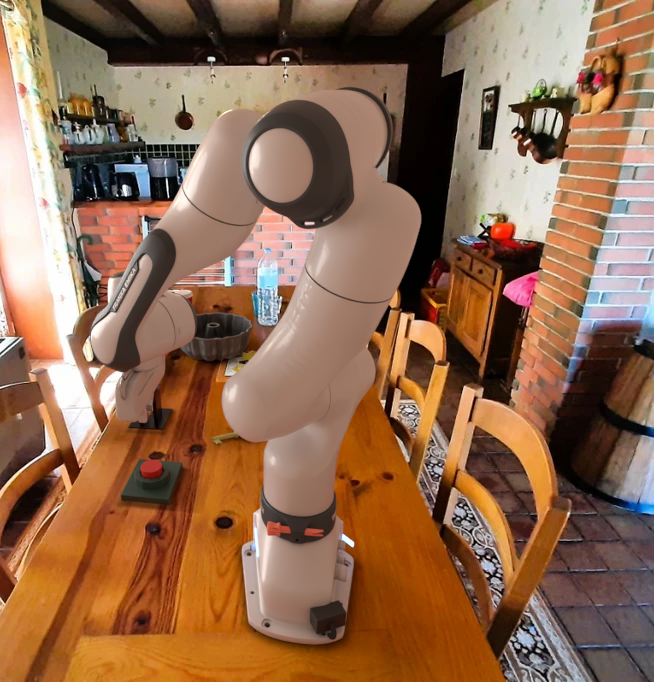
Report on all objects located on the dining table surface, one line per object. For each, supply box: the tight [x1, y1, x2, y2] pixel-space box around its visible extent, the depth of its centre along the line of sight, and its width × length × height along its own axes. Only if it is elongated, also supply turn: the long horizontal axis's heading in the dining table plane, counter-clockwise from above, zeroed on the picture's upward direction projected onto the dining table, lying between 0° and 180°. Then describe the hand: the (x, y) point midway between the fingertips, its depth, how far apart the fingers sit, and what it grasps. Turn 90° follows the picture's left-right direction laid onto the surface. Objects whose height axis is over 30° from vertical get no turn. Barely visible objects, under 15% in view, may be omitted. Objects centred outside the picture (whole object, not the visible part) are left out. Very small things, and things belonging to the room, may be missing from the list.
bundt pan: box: [179, 312, 254, 362], centre depth 165 cm, size 26×26×10 cm
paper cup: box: [173, 289, 194, 305], centre depth 188 cm, size 8×8×14 cm
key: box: [211, 430, 243, 445], centre depth 117 cm, size 7×12×2 cm, turn 134°
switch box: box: [120, 458, 184, 506], centre depth 102 cm, size 12×10×4 cm
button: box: [141, 459, 163, 479], centre depth 101 cm, size 4×4×2 cm
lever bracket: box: [128, 383, 173, 431], centre depth 125 cm, size 10×9×12 cm
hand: (145, 417), depth 96 cm, fingers closed
